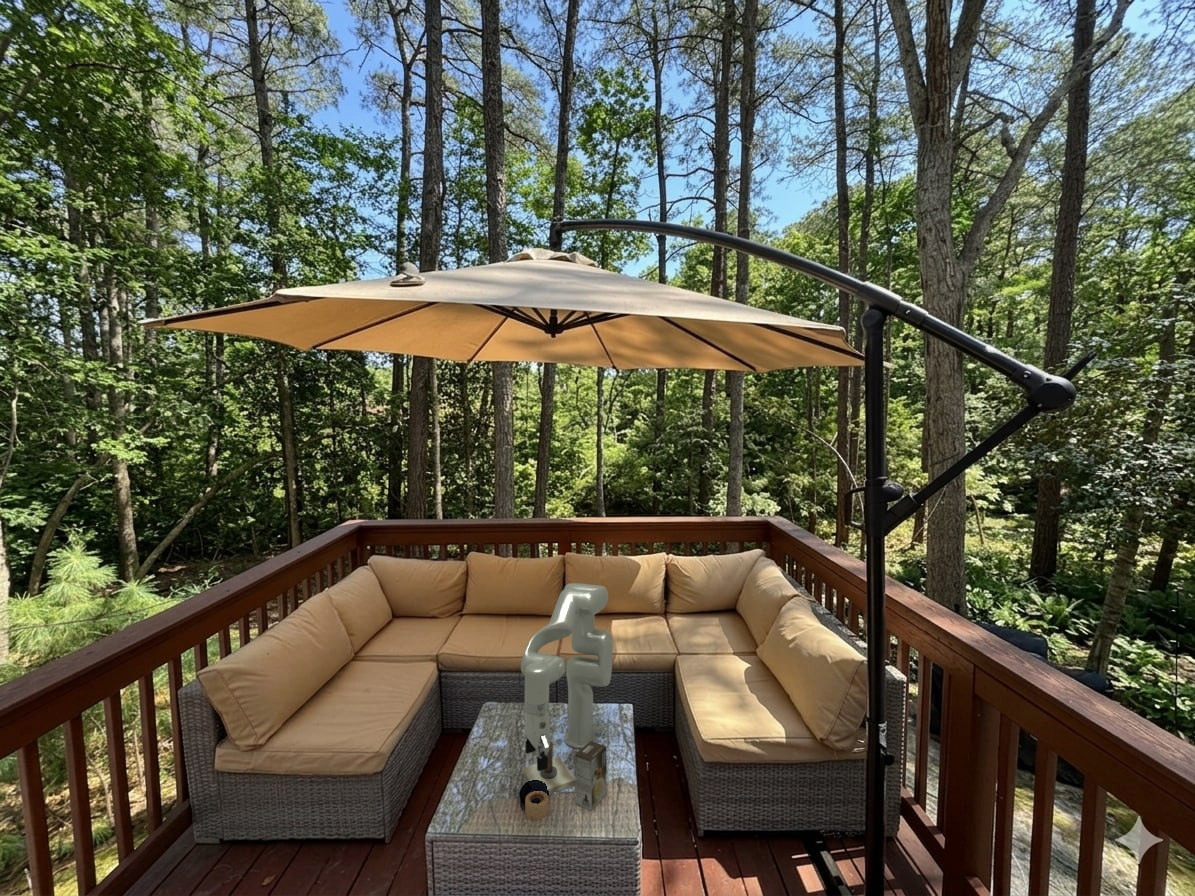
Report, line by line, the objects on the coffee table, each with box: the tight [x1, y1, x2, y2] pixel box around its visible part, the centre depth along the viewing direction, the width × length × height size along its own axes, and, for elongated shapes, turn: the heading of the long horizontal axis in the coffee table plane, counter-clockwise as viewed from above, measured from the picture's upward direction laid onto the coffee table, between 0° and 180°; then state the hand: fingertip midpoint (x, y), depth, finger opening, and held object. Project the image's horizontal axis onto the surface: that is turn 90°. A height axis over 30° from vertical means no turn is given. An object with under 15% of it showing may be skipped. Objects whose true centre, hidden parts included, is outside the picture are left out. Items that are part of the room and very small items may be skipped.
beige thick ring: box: [524, 791, 550, 820], centre depth 161 cm, size 7×7×4 cm
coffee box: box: [575, 741, 608, 811], centre depth 166 cm, size 9×6×16 cm
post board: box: [521, 740, 576, 795], centre depth 176 cm, size 14×14×13 cm
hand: (536, 760), depth 160 cm, fingers open, 9 cm apart
